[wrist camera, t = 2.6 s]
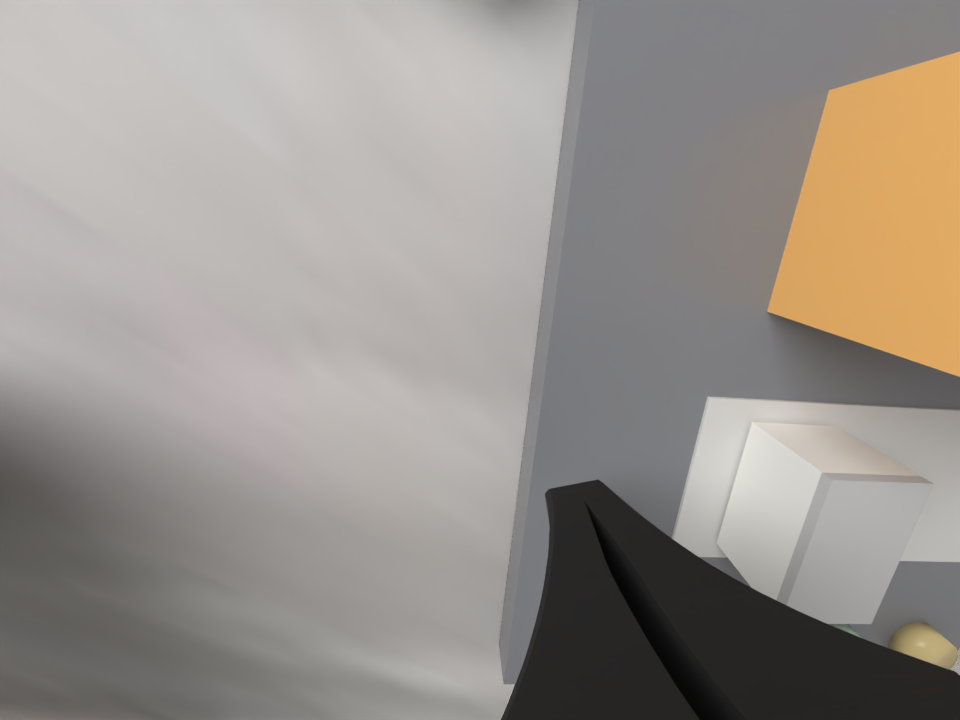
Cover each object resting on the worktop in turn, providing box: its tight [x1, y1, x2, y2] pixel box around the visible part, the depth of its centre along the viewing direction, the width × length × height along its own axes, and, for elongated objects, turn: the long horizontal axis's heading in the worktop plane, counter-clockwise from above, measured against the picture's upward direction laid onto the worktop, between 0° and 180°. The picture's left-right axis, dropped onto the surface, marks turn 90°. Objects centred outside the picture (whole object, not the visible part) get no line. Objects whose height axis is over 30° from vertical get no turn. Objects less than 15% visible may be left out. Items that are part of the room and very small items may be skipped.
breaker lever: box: [717, 422, 934, 624], centre depth 12 cm, size 2×4×3 cm, turn 175°
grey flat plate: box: [499, 0, 960, 684], centre depth 13 cm, size 16×20×2 cm
